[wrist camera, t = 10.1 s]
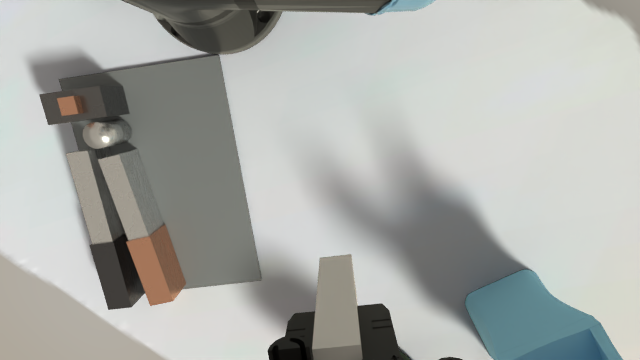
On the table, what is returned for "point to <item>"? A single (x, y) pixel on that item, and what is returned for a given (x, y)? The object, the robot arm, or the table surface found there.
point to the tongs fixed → (98, 190)
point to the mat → (187, 163)
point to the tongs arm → (138, 213)
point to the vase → (534, 323)
